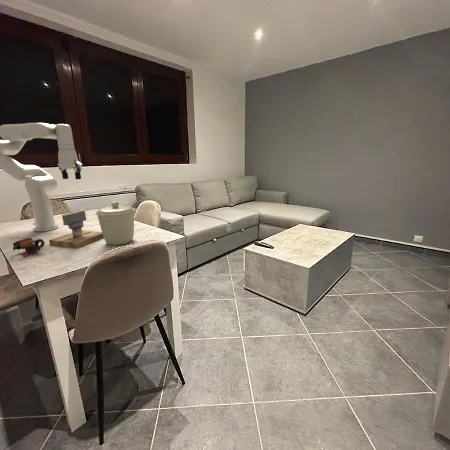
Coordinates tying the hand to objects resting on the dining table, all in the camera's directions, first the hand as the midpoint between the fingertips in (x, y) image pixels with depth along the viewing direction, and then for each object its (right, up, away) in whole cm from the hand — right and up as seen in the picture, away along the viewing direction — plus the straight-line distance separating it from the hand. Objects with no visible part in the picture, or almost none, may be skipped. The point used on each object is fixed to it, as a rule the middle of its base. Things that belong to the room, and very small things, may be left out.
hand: (72, 179), depth 143 cm
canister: (+34, -36, -16) cm, 52 cm away
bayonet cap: (+11, -28, -15) cm, 33 cm away
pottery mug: (-1, -40, -29) cm, 49 cm away
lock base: (+11, -35, -13) cm, 39 cm away
